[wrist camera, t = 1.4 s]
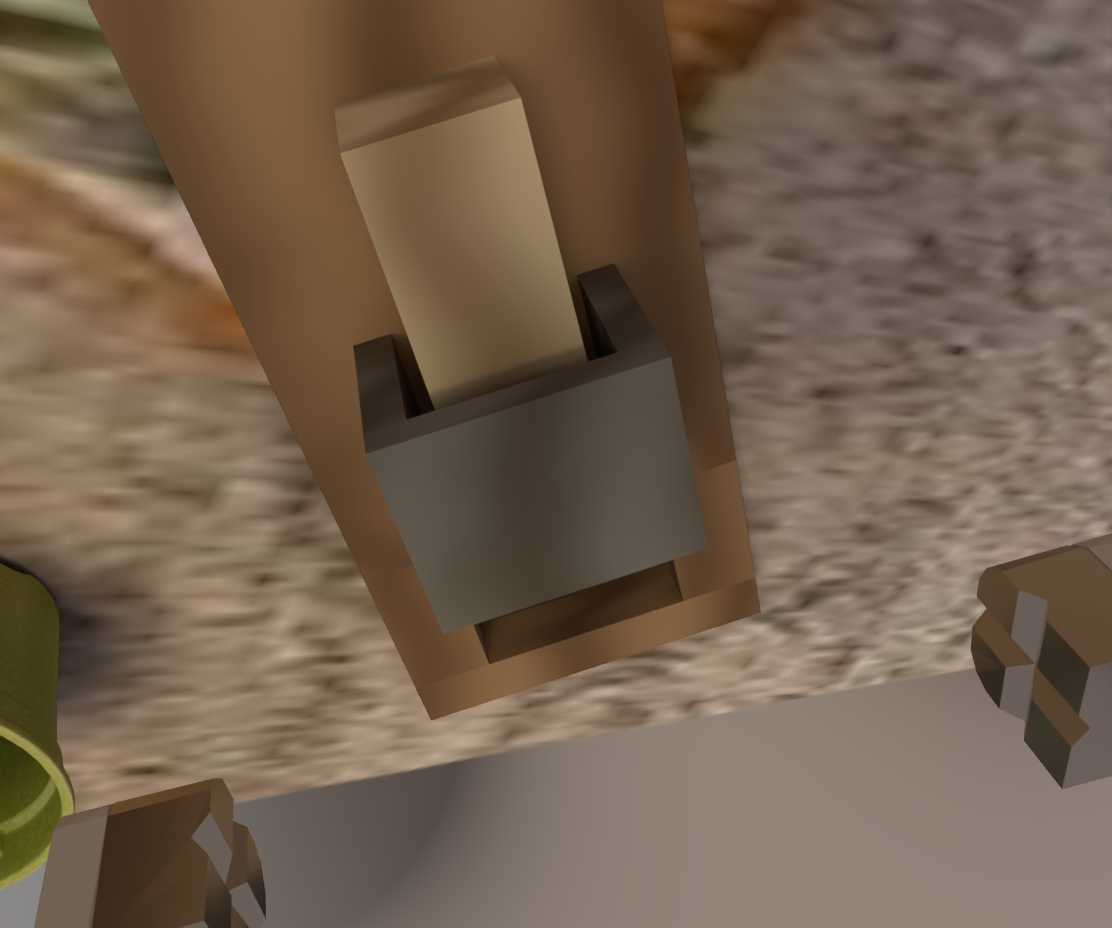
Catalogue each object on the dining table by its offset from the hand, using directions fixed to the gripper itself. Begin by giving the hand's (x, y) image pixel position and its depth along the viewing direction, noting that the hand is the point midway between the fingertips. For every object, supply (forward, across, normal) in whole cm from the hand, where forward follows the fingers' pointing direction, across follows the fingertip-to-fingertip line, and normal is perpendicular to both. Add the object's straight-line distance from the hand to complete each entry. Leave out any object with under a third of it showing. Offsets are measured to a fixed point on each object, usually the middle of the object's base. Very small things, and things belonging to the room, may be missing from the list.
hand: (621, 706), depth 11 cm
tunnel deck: (+24, -2, +7) cm, 26 cm away
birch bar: (+22, -1, +6) cm, 23 cm away
